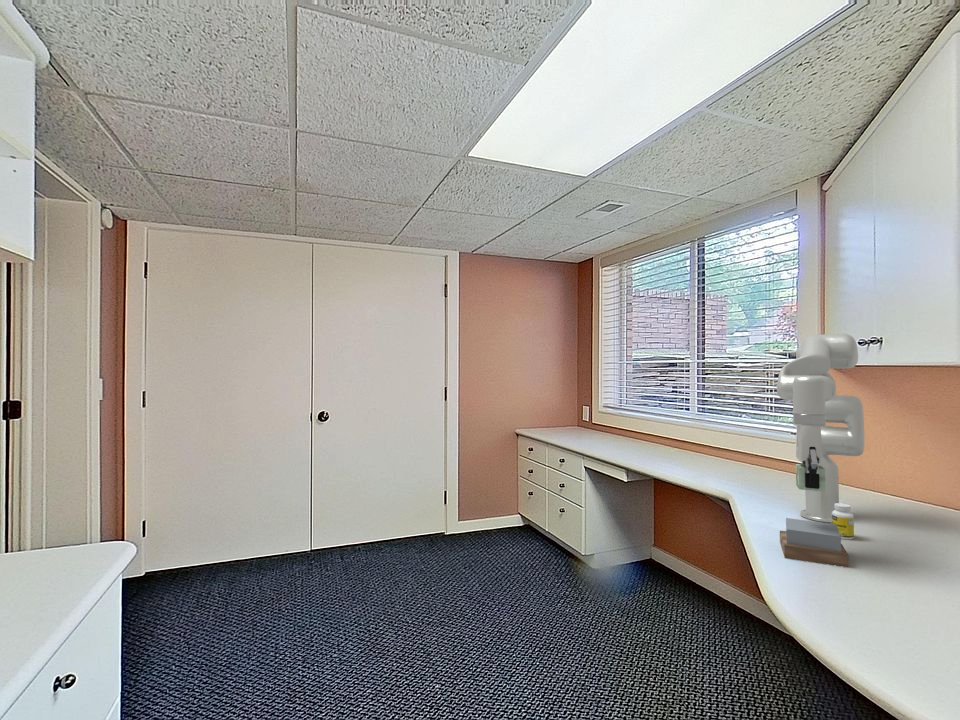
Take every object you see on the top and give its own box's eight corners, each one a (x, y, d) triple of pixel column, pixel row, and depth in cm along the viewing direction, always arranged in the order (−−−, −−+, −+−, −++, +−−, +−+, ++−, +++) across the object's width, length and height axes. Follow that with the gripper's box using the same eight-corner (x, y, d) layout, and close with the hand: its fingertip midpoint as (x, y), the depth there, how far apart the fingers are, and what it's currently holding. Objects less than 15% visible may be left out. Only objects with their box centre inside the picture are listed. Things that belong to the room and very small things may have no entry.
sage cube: (796, 484, 140) (795, 463, 140) (821, 487, 137) (821, 465, 138) (799, 489, 135) (798, 467, 135) (825, 491, 132) (825, 469, 132)
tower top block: (786, 531, 144) (785, 517, 144) (836, 538, 138) (836, 524, 138) (786, 543, 134) (786, 529, 134) (841, 552, 127) (840, 536, 127)
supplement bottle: (827, 535, 151) (827, 503, 151) (839, 533, 153) (839, 501, 153) (846, 540, 146) (845, 507, 146) (858, 538, 148) (857, 506, 148)
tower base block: (779, 543, 145) (779, 530, 145) (837, 551, 139) (837, 537, 139) (784, 560, 132) (784, 545, 133) (848, 569, 126) (848, 553, 126)
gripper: (789, 417, 146) (790, 478, 145) (797, 422, 130) (798, 490, 130) (819, 418, 143) (820, 480, 142) (831, 424, 127) (833, 493, 127)
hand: (810, 484), depth 136 cm, fingers closed on sage cube, 6 cm apart
